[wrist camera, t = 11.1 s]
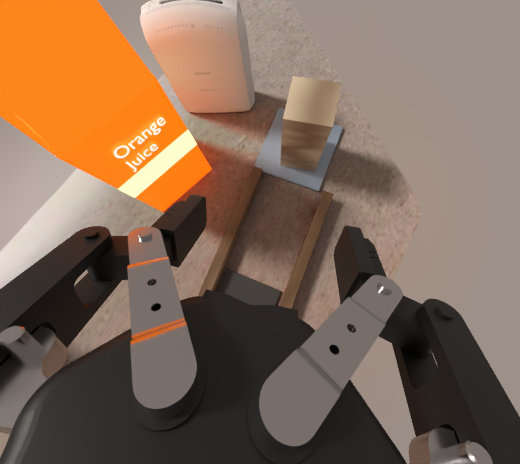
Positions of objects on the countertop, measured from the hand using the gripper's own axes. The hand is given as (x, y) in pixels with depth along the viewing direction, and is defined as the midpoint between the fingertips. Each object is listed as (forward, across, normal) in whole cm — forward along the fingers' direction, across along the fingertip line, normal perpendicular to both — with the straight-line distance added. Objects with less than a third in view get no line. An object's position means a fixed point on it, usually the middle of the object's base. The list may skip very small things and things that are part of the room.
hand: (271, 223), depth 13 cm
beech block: (+20, -2, +1) cm, 20 cm away
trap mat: (+6, +1, +15) cm, 16 cm away
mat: (+20, -1, +1) cm, 20 cm away
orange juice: (+16, +15, +6) cm, 23 cm away
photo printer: (+24, +11, -2) cm, 27 cm away
